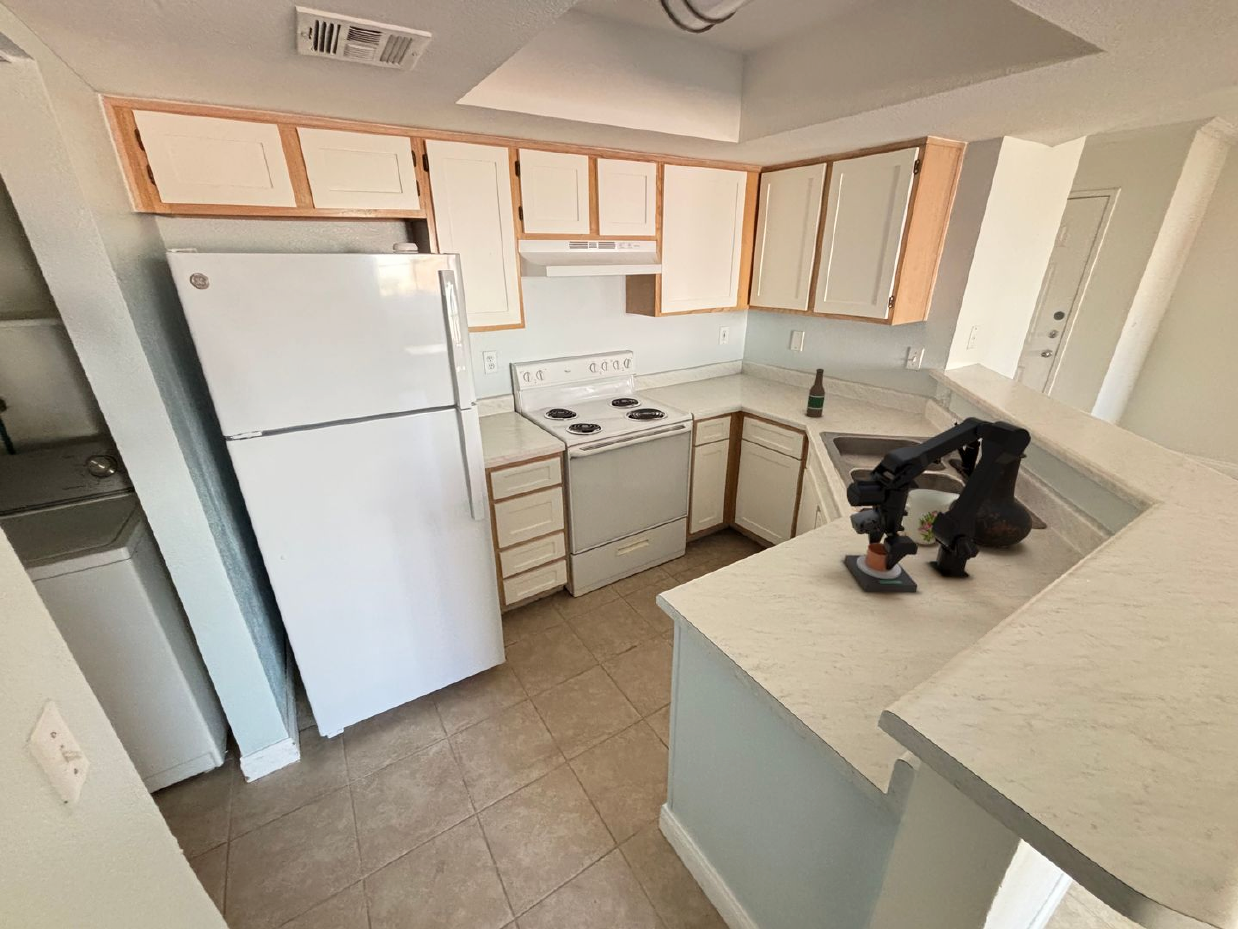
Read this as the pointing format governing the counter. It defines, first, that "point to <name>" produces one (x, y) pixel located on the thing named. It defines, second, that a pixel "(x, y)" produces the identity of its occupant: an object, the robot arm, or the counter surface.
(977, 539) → the dark brown vase
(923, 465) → the robot arm
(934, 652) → the counter surface
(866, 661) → the counter surface
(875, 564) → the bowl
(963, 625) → the counter surface
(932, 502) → the pitcher
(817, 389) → the beer bottle
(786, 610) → the counter surface
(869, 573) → the scale
